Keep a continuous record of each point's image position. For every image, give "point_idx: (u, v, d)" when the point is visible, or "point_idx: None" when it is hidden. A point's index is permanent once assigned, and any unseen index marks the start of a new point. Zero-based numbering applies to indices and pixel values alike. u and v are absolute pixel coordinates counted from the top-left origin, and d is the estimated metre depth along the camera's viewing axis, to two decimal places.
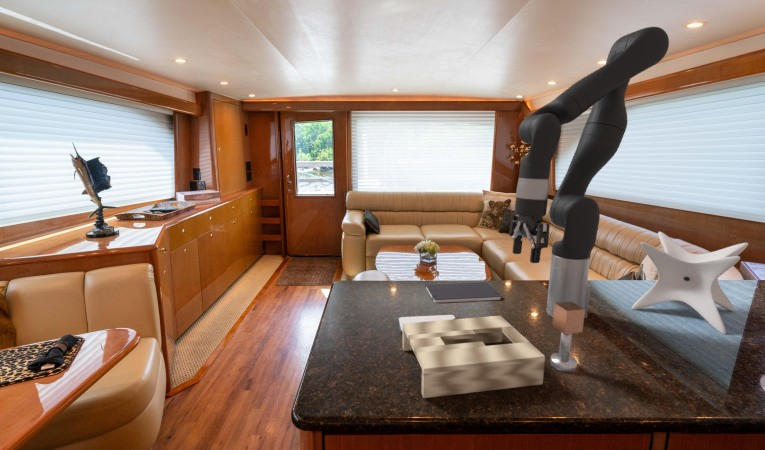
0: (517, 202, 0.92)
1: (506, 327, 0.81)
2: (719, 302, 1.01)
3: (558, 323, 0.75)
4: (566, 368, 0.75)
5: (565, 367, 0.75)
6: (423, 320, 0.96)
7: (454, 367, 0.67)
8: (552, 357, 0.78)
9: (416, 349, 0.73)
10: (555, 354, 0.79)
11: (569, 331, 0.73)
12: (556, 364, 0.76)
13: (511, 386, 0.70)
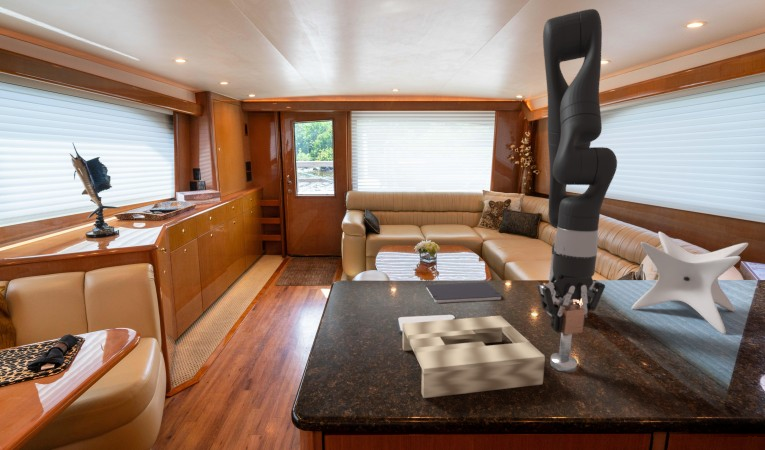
0: (587, 263, 0.69)
1: (506, 327, 0.81)
2: (719, 302, 1.01)
3: None
4: (566, 368, 0.75)
5: (565, 367, 0.75)
6: (422, 320, 0.96)
7: (454, 367, 0.67)
8: (552, 357, 0.78)
9: (416, 349, 0.73)
10: (555, 354, 0.79)
11: (569, 331, 0.73)
12: (556, 364, 0.76)
13: (511, 386, 0.70)
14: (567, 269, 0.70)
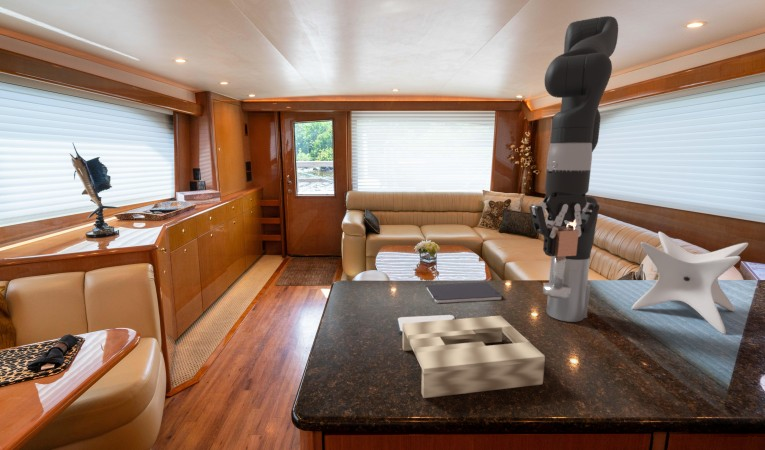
0: (580, 177, 0.66)
1: (506, 327, 0.81)
2: (719, 302, 1.01)
3: None
4: (559, 294, 0.72)
5: (558, 293, 0.72)
6: (422, 320, 0.96)
7: (454, 367, 0.67)
8: (545, 285, 0.75)
9: (416, 349, 0.73)
10: (548, 283, 0.76)
11: (562, 254, 0.70)
12: (549, 291, 0.73)
13: (511, 386, 0.70)
14: (560, 185, 0.67)
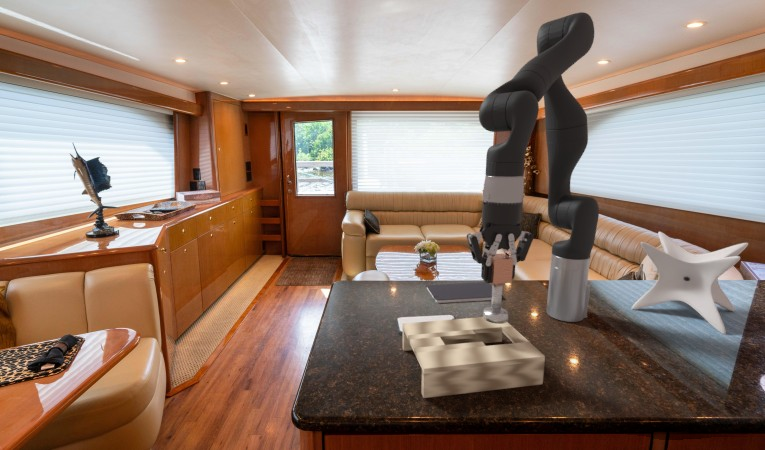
0: (511, 209, 0.69)
1: (506, 327, 0.81)
2: (719, 302, 1.01)
3: None
4: (496, 319, 0.74)
5: (495, 318, 0.74)
6: (421, 320, 0.96)
7: (454, 367, 0.67)
8: (484, 310, 0.77)
9: (416, 349, 0.73)
10: (489, 307, 0.78)
11: (498, 281, 0.73)
12: (487, 316, 0.75)
13: (511, 386, 0.70)
14: (492, 216, 0.70)
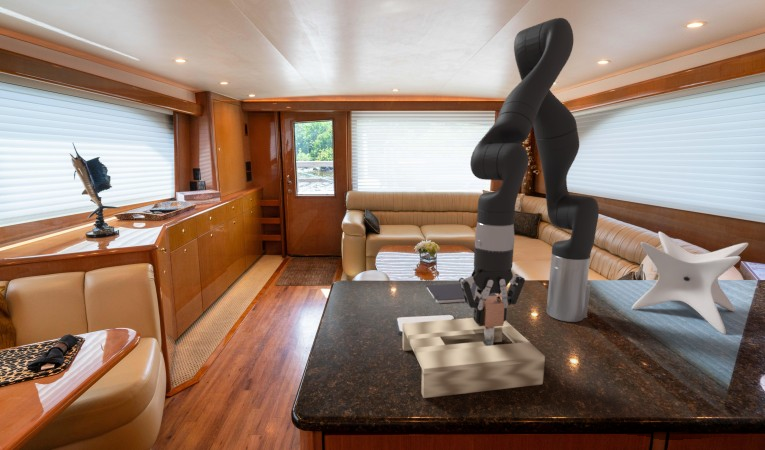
0: (502, 257, 0.70)
1: (506, 327, 0.81)
2: (719, 302, 1.01)
3: None
4: None
5: None
6: (421, 320, 0.96)
7: (454, 367, 0.67)
8: None
9: (416, 349, 0.73)
10: None
11: (489, 324, 0.75)
12: None
13: (511, 386, 0.70)
14: (484, 263, 0.71)
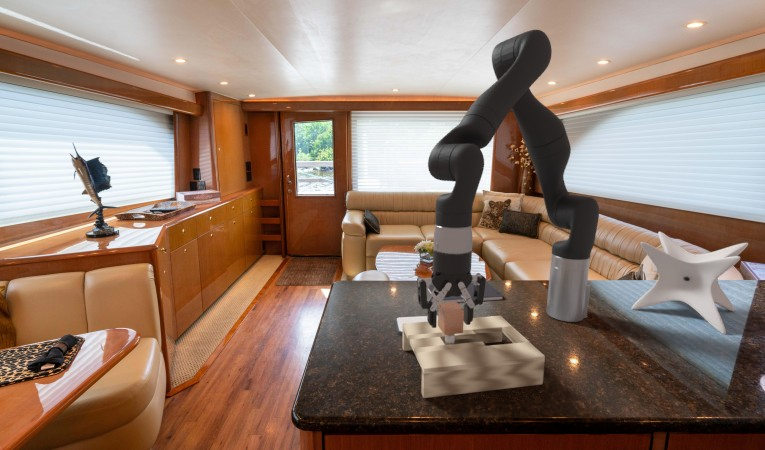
0: (458, 260, 0.69)
1: (506, 327, 0.81)
2: (719, 302, 1.01)
3: (440, 324, 0.75)
4: None
5: None
6: (421, 320, 0.96)
7: (454, 367, 0.67)
8: None
9: (416, 349, 0.73)
10: None
11: (449, 332, 0.73)
12: None
13: (511, 386, 0.70)
14: (441, 266, 0.70)
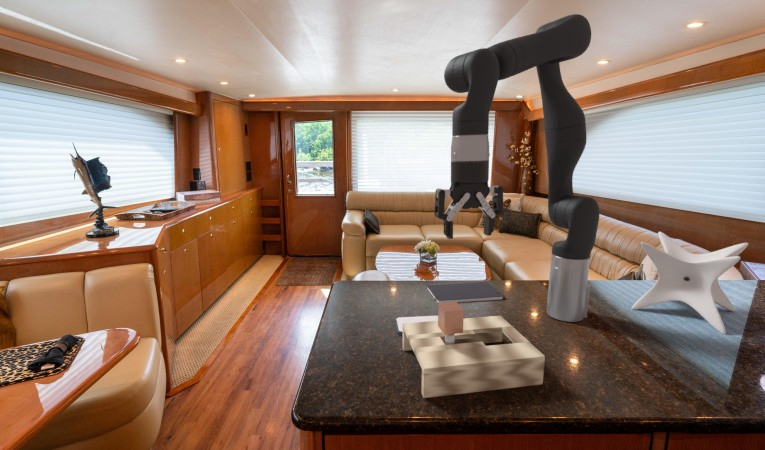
0: (477, 167, 0.70)
1: (506, 327, 0.81)
2: (719, 302, 1.01)
3: (440, 324, 0.75)
4: None
5: None
6: (420, 320, 0.96)
7: (454, 367, 0.67)
8: None
9: (416, 349, 0.73)
10: None
11: (449, 331, 0.73)
12: None
13: (511, 386, 0.70)
14: (460, 175, 0.72)
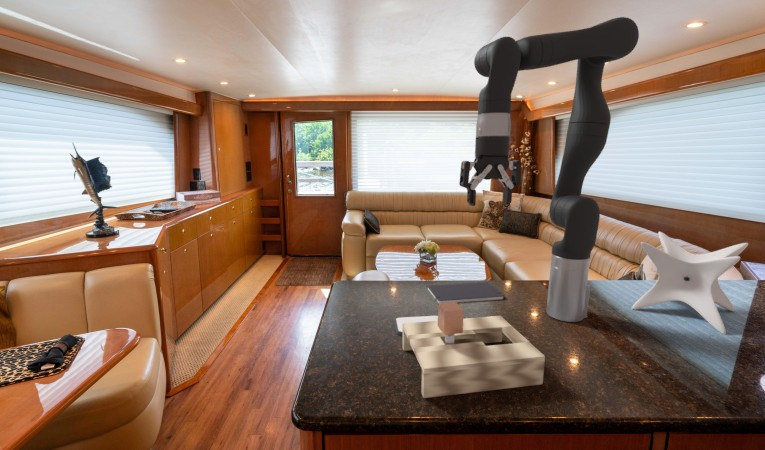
0: (499, 141, 0.80)
1: (506, 327, 0.81)
2: (719, 302, 1.01)
3: (440, 324, 0.75)
4: None
5: None
6: (420, 320, 0.96)
7: (454, 367, 0.67)
8: None
9: (416, 349, 0.73)
10: None
11: (449, 332, 0.73)
12: None
13: (511, 386, 0.70)
14: (484, 148, 0.81)
